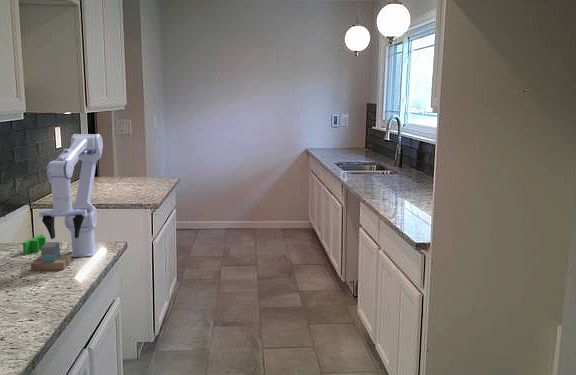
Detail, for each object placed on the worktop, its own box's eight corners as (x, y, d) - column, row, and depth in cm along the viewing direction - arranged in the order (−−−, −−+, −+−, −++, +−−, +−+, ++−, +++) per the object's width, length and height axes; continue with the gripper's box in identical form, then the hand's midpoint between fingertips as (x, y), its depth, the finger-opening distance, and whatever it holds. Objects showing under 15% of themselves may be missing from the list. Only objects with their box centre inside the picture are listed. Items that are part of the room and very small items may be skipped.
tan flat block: (41, 262, 180) (40, 255, 180) (71, 261, 181) (71, 254, 181) (31, 271, 171) (31, 263, 171) (64, 269, 173) (63, 262, 172)
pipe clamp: (33, 255, 188) (32, 243, 187) (23, 255, 189) (22, 242, 188) (51, 246, 199) (49, 234, 198) (41, 245, 200) (40, 234, 199)
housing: (47, 256, 178) (46, 242, 177) (60, 256, 179) (59, 241, 178) (42, 262, 172) (40, 247, 171) (54, 261, 173) (53, 247, 172)
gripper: (34, 200, 167) (37, 241, 169) (81, 199, 168) (84, 240, 171) (42, 195, 174) (45, 235, 176) (87, 195, 175) (90, 234, 177)
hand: (65, 237), depth 174 cm, fingers open, 7 cm apart
